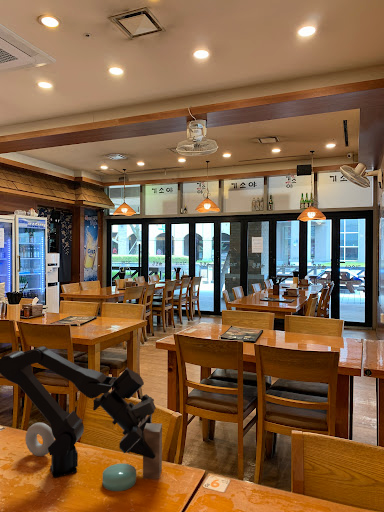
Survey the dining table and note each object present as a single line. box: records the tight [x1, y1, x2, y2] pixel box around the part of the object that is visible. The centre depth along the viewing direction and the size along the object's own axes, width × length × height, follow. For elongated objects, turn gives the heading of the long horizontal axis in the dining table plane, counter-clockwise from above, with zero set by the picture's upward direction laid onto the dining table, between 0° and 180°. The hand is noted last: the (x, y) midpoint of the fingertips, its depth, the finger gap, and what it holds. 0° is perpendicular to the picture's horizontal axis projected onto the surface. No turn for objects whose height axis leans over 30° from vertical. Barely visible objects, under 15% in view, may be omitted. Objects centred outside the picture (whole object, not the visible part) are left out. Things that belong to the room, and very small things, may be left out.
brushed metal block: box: [142, 422, 163, 480], centre depth 110 cm, size 5×5×13 cm
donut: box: [24, 422, 55, 457], centre depth 119 cm, size 10×4×10 cm, turn 71°
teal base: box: [102, 463, 137, 492], centre depth 106 cm, size 9×9×2 cm
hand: (157, 449), depth 110 cm, fingers open, 9 cm apart
